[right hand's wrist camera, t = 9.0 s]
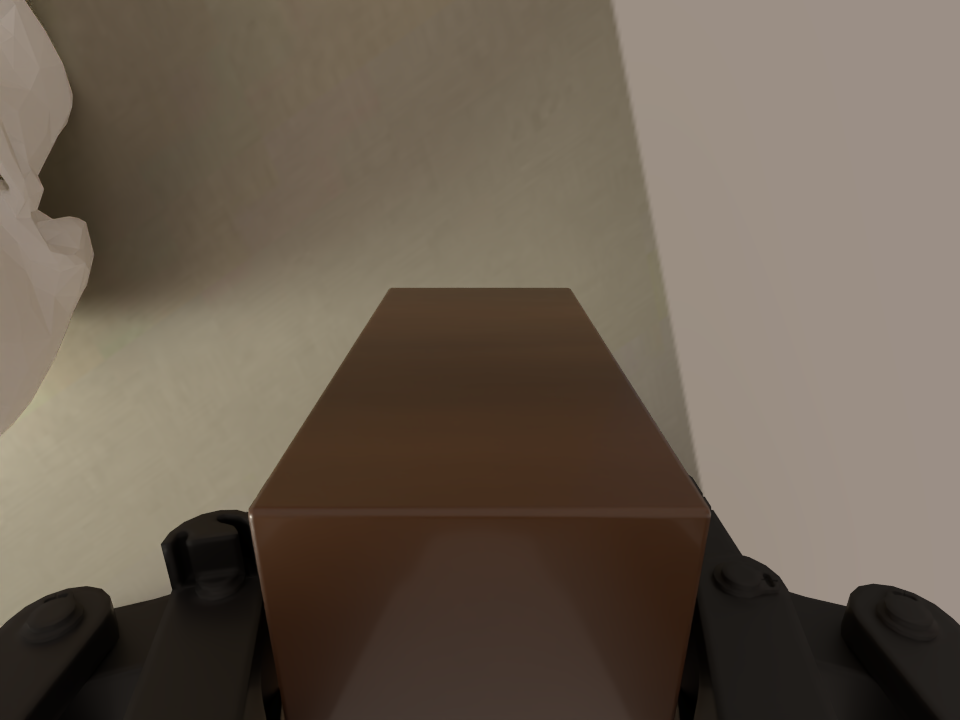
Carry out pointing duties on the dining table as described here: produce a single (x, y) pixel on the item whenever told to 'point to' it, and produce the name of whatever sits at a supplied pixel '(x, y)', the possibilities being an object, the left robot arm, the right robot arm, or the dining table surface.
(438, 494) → the walnut block
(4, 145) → the skull
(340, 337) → the dining table surface
